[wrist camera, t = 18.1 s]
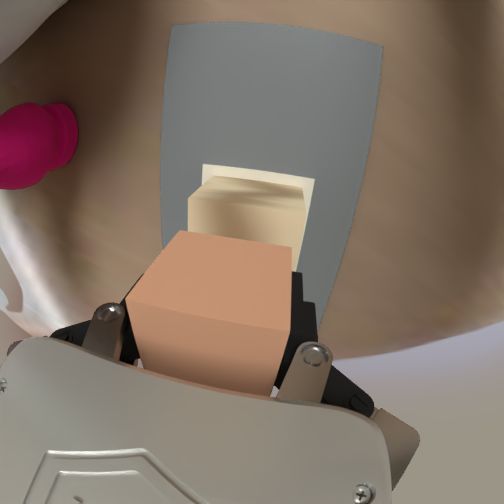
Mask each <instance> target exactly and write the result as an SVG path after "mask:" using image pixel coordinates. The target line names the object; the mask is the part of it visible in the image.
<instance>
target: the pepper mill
mask: <svg viewBox="0 0 504 504" xmlns="http://www.w3.org/2000/svg"><path fill="white" fill-rule="evenodd" d="M77 141H78V126H77V121H76V118H75V115H74V113H73V112H72V110H71V109H70V108H69V107H68V106H66V105H65V104H62V103H55V104H49V105H44V106H42V107H41V106H40V105H38V104H36V103H24V104H21V105H18V106H15V107H13V108H11V109H9V110H8V111H6V112H5V113H3V114H2V115H1V116H0V189H7V190H15V189H23V188H26V187H29V186H32V185H34V184H36V183H38V182H39V181H40V180H41V179H42V178H43V177H44V176H45V175H46V173H47V171H52V170H54V169H57V168H59V167H61V166H64V165H65V164H67V163H68V162H69V161H70V159H71V158H72V156H73V155H74V152H75V149H76V147H77Z"/></svg>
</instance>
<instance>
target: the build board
mask: <svg viewBox="0 0 504 504" xmlns="http://www.w3.org/2000/svg"><path fill="white" fill-rule="evenodd" d="M382 57H383V46H380V45H377V44H374V43H370V42H367V41H363V40H360V39H356V38H352V37H348V36H344V35H340V34H335V33H330V32H325V31H320V30H315V29H309V28H302V27H295V26H287V25H278V24H266V23H248V22H209V23H192V24H180V25H172V27H171V33H170V40H169V47H168V55H167V64H166V73H165V83H164V95H163V109H162V127H161V161H160V191H161V226H162V245H163V250H164V248H165V247H166V246H167V245H168V243H169V242H170V241H171V240H172V239H173V237H174V236H175V235H176V234H177V233H178V231H179V230H182V231H188V198H189V197H190V196H191V195H192V194H193V193H194V192H195V191H196V190H197V189H199V188H200V187H201V186H202V185H203V184H204V183H205V182H206V181H207V180H209V179H210V178H211V177H212V176H213V175H215V176H224V177H233V178H241V179H249V180H257V181H264V182H271V183H278V184H284V185H291V186H297V187H302V188H303V195H304V202H305V209H306V219H305V224H304V229H303V234H302V238H301V243H300V248H299V253H298V257H297V262H296V267H295V271H294V272H301V273H302V276H303V301H307V302H314V303H315V308H316V321H317V331H318V328H319V325H320V323H321V320H322V317H323V314H324V312H325V309H326V306H327V303H328V300H329V297H330V294H331V291H332V288H333V285H334V282H335V279H336V276H337V273H338V270H339V266H340V263H341V260H342V257H343V253H344V250H345V246H346V243H347V239H348V236H349V232H350V229H351V225H352V221H353V217H354V214H355V210H356V206H357V202H358V198H359V193H360V189H361V185H362V181H363V176H364V172H365V167H366V162H367V157H368V152H369V147H370V142H371V137H372V131H373V125H374V119H375V113H376V106H377V100H378V92H379V85H380V76H381V67H382Z"/></svg>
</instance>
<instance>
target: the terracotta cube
mask: <svg viewBox="0 0 504 504" xmlns="http://www.w3.org/2000/svg"><path fill="white" fill-rule="evenodd" d="M291 276H292V247H287V246H281V245H275V244H268V243H262V242H255V241H249V240H242V239H236V238H229V237H223V236H216V235H209V234H203V233H196V232H189V231H182V230H179V231H178V233H177V234H176V235H175V236H174V237H173V239H172V240H171V241H170V242H169V243H168V245H167V246H166V247H165V248H164V250H163V251H162V252H161V253H160V254H159V256H158V257H157V258H156V259H155V261H154V262H153V263H152V264H151V266H150V267H149V268H148V270H147V271H146V272H145V273H144V275H143V276H142V277H141V278H140V280H139V281H138V282H137V284H136V285H135V286H134V288H133V289H132V290H131V292H130V293H129V294H128V296H127V297H126V298H125V300H126V305H127V309H128V313H129V317H130V321H131V325H132V329H133V333H134V337H135V341H136V344H137V348H138V351H139V355H140V358H141V361H142V364H143V367H144V369H146V370H149V371H152V372H156V373H159V374H163V375H166V376H170V377H174V378H177V379H181V380H185V381H189V382H193V383H198V384H202V385H207V386H211V387H216V388H221V389H226V390H231V391H236V392H242V393H248V394H254V395H261V396H268V397H270V394H271V392H272V389H273V386H274V383H275V380H276V376H277V373H278V370H279V367H280V364H281V360H282V357H283V354H284V351H285V347H286V344H287V340H288V337H289V334H290V321H291Z"/></svg>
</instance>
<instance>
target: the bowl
mask: <svg viewBox="0 0 504 504" xmlns="http://www.w3.org/2000/svg"><path fill="white" fill-rule="evenodd" d="M67 1H68V0H0V64H1V63H2V62H3V61H4V60H5V59H7V58H8V57H9V56H10V55H11V54H12V53H13V52H14V51H15V50H16V49H18V48H19V47H20V46H21V45H22V44H23V43H24V42H25V41H26V40H27V39H28V38H29V37H30V36H31V35H32V34H33V33H34V32H35V31H36V30H37V29H38V28H39V27H40V26H41V24H42V23H43V22H44V21H45V20H46V19H47V18H48V17H49V16H50V15H51V14H52V13H53V12H55V11H56V10H57V9H59V8H60V7H61V6H62V5H64V4H65V3H66V2H67Z"/></svg>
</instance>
